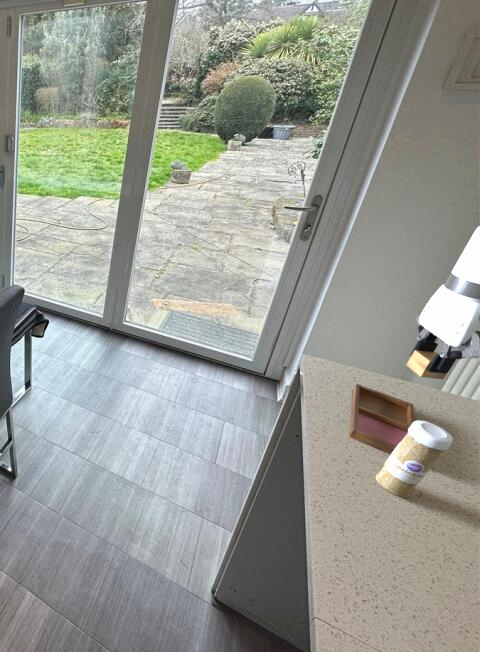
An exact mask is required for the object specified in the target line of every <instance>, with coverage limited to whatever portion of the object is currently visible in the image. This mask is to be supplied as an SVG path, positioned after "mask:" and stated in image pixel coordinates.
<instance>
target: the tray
mask: <svg viewBox="0 0 480 652" xmlns="http://www.w3.org/2000/svg"><path fill="white" fill-rule="evenodd" d="M352 390H353V391H351V393H352V394H351V406H350V419H349V430H348V431H349V433H348V437H349V438H350V439H354V440H356V441H359V442H361V443H362V444H365V445H367V446H370V447H372V448H374V449H377V450H379V451H382V452H384V453H387V454H389V455H391V454H392V453H393V451H394V450H395V448H396V447H397V446H398V444H399V443H400V442H401V441H402V440H403V439H404V437H405V436H406V434H407V433H408V429H409V427H410V426H411V425H412V423H413V422H415V421H416V418H415V417H416V415H415V408H414V404H413V403H411V402H408V401H406V400H402V399H401V398H398V397H394V396H392V395H389V394H386V393H384V392H381V391H378V390H375V389H373V388H370V387H367V386H364V385H361V384H359V383H356V384H355V385H354V387H353V388H352Z"/></svg>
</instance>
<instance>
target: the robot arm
mask: <svg viewBox="0 0 480 652" xmlns="http://www.w3.org/2000/svg"><path fill="white" fill-rule="evenodd" d="M415 322H416V324H417V329H418V334H417V336H416V339H417V340H418V341H417V342H416V344H415V346H414V347H413V349H412V350H411V352H410V354H409V356H410V357H411V356H412V354H413V352H414V351H415V350H418V351H427V352H436V350H437V348H438V346H439V343H438V341H439V339H440V340H441V341H443V345H442V347H441V349H440V352H439V353H438V354H440V355H438V354H436V355H435V356H434V358H433V360H432V362H431V364H430V365H429V367H428V368H427V370H428V371H430V372H435V373H444V374H446V373H447V374H448V373H449V372H450V371H451V368H452V367H453V366H454V364H455V363H456V362H457V360H463V359H467V358H468V359H480V225H479V226H477V227H476V229H475V230H474V232H473V233H472V235H471V237H470V238H469V241H468V242H467V244H466V246H465V247H464V249H463V251H462V253H461V254H460V256H459V258H458V259H457V262H456V263H455V265H454V267H453V268H452V270H451V272H450V274H449V275H448V277H447V279H446V281H445V283H443V284H442V285H441V286H439V288H438V289H437V290H436V291H435V292H434V293H433V295H432V296H431V297H430V299H429V300H428V302H427V303H426V304H425V306H424V308H423V310H422V312H421V313H420V315H418V316H416V317H415ZM453 348H455V349H454V350H452V349H453ZM447 374H446V375H447Z"/></svg>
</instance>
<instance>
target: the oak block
mask: <svg viewBox="0 0 480 652" xmlns="http://www.w3.org/2000/svg"><path fill="white" fill-rule="evenodd" d="M436 354H438V355H440V353H438V352H437V351H434V352H427V351H418V350H415V351H414V352H413V354H412V356H410V357H409V359H408V361H407V363H406V366H407V368H409V369H410V370H412V371H413V372H414V373H415V374H416V375H417V376H419V377H420V378H427V379H434V380H435V379H436V380H444V379H445V378H446V376H447V374H448V373H446V374H444V373H435V372H430V371H428V370H427V368H428V367H429V365H430V364H431V362H432V360H433V358H434V356H435V355H436Z"/></svg>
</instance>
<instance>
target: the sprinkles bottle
mask: <svg viewBox="0 0 480 652" xmlns="http://www.w3.org/2000/svg"><path fill="white" fill-rule="evenodd" d="M453 442H454V438H453V436H452V435H451V434H450V433H449V432H448V431H447V430H445V429H444V428H442V427H440V426H439V425H436V424H434V423H432V422H429V421H427V420H415V422H413V423H412V425H411V426H410V427H409V429H408V433H407V434H406V436H405V437H404V439H403V440H402V441H401V442H400V443H399V444H398V446H397V447H396V448H395V450H394V451H393V453H392V454H389V457H388V458H387V459H386V460H385V462H384V464H383V467H382V468H381V469H380V470H379V472H377V474H375V480H376V481H377V483H378V484H379V485H380V486H381V487H382V488H383V489H385V490H386V491H387V492H388V493H389V492H390V493H391V494H392V495H395V496H398V497H403V498H406V497H409V496H411V495H412V493H413V491H414V489H415V488H416V487H417V486H418V484H420V483H421V481H423V479H424V478H425V476H426V475H427V474H428V473H429V471H430V470H431V469H432V468H433V466H434V465H435V463H437V460H438V459H439V457H440V456H441V454H443V452H445V451H447V450H448V449H449V448H450V446H451V445H452V444H453Z"/></svg>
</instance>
